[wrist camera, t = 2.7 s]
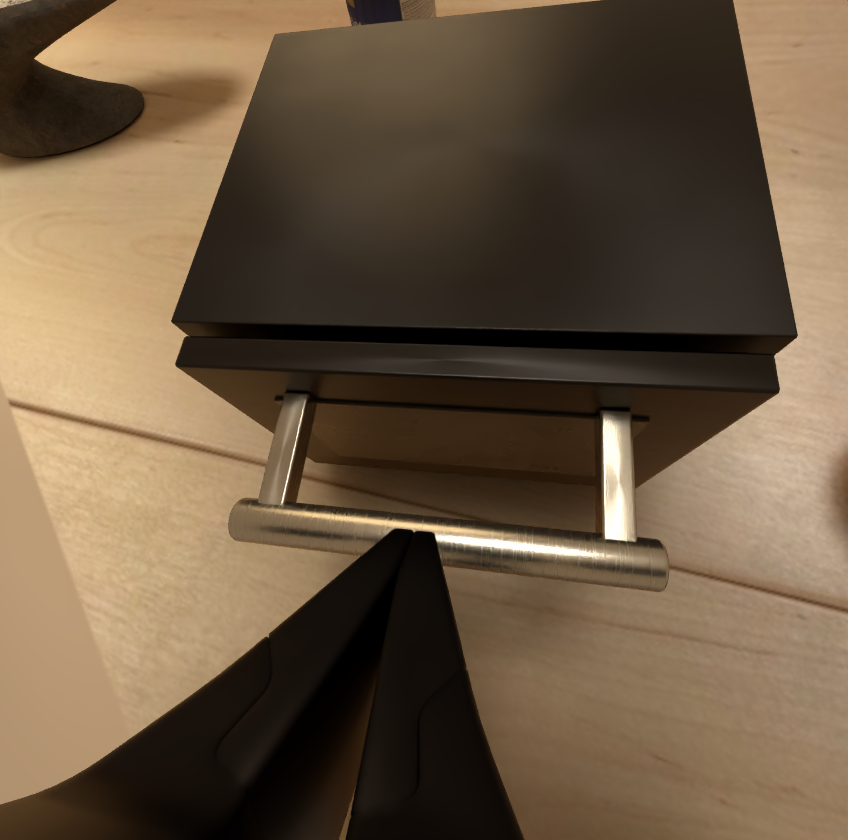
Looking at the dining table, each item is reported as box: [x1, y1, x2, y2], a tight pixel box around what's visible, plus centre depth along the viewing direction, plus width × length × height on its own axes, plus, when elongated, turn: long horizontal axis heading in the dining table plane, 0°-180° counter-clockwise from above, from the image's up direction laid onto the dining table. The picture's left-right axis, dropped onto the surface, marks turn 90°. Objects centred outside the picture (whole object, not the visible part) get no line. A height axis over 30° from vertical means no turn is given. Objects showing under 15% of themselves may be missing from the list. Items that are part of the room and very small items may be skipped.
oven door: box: [175, 336, 780, 592], centre depth 15 cm, size 5×15×11 cm, turn 83°
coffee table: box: [0, 0, 143, 157], centre depth 35 cm, size 25×9×9 cm, turn 95°
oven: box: [171, 0, 798, 356], centre depth 19 cm, size 13×16×13 cm
